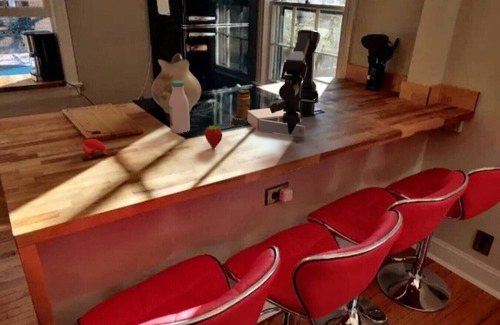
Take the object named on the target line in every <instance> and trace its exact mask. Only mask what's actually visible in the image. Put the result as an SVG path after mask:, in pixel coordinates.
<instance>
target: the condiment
mask: <svg viewBox="0 0 500 325" xmlns="http://www.w3.org/2000/svg"><path fill="white" fill-rule="evenodd" d="M248 110H251V96H250V90H249V89H239V90H237V96H236V114H230V115H229V117H230V118H233V119H234V120H236V119H237V121H241V120H246V119H245V118H247V114H248ZM239 118H240V119H239ZM238 119H239V120H238Z"/></svg>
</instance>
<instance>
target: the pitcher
mask: <svg viewBox="0 0 500 325" xmlns="http://www.w3.org/2000/svg"><path fill="white" fill-rule="evenodd" d="M157 62H158V64H159V66H160V67H161V71H160V73H159V74H158V75H157V77H156V78H154V80H153V82H152V85H151V95H152V98H153V100H154V102H155V103H156V104H157V105H158V106H159V107H161V108H162V109H163V111H164V113H166V114H169V115H170V112H169V100H170V97H171V94H172V90H173V88H172V81H183V82H184V87H183V90H184V93H185V95H186V97H187V99H188V103H189V113H190V112H191V111H192V108H193V107H194V106H195V105H196V104H197V103H198V101H199V100H200V98H201V95H202V87H201V84H200V82H199V80H198V79H197V78H196V76H194V75H193V73H192V72H191V71H190V70H189V67H190V62H189V60H188V59H184V58H183V55H182V54H181V53H179V52H177V53H176V54H174V55H173V57H172V59H171V61H170V62H169V61H166V60H164V59H162V58H159V59H158V60H157Z"/></svg>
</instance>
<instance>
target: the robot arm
mask: <svg viewBox="0 0 500 325" xmlns="http://www.w3.org/2000/svg"><path fill="white" fill-rule="evenodd" d="M296 38H297V39H296V43H295V45H294V49H293V51H292V53H290V54H288V55H287V57H286V59H285V60H284V62H283V65H282V66H283V67H282V70H281V75H280V80H282V81H283V80H284V84H282V85H281V86H280V88H279V90H278V95H279V99H277V100H273V101H270V102H269V104H268V107H269V108H270V110H271V113H275V112H277V111H281V110H283V112H286V113H283V123H287V126H288V133H289V134H292V132H293V130H294V128H295V126H296V124H299V125H300V124H301V116H302V117H303V118H304V117H305V118H306V117H314V116H317V114H316V113H315V107H316V104H318V103H319V97H320V96H319V93H318V90H317V84H316V82H315V81H314V63H315V61H314V60H315V51H316V50H317V47H318V45H319V44H320V41H321V33H320V32H319V31H318V30H312V29H310V28H301V29H299V30H298V31H297V35H296ZM296 112H299V113H301V114H300V115H299V114H298V113H296Z"/></svg>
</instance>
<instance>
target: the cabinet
mask: <svg viewBox="0 0 500 325" xmlns="http://www.w3.org/2000/svg"><path fill="white" fill-rule="evenodd" d="M283 113H286V112H283V110H281V111H277V112H275V113H271V110H270V107H269V108H267V107H266V108H260V109H259V108H258V109H250V110H248V114H247V120H246V121H248V124H250V125H251V126H252V127H254V128H255V129H256V130H257V123H258V119H262V120H269V121H276V122H282V123H283ZM296 113H298V114H299V115H300V114H301V113H299V112H296ZM300 116H301V115H300ZM296 125H300V124H296Z"/></svg>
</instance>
